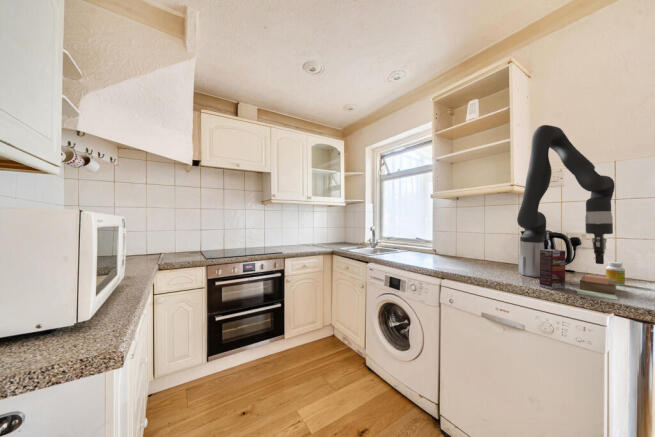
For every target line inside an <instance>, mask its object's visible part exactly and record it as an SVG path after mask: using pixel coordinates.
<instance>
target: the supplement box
mask: <svg viewBox="0 0 655 437" xmlns="http://www.w3.org/2000/svg"><path fill="white" fill-rule="evenodd" d="M566 251H567V250H564V249H557V248H556V249H553V248H551V249H544V250H540V277H539V280H538V281H539V284H538V286H539V287H541V288H544V287H545V288H546V289H548V290H549V289H550V290H555V289H565V288H566V253H567V252H566Z"/></svg>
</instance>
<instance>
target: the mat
mask: <svg viewBox="0 0 655 437" xmlns="http://www.w3.org/2000/svg"><path fill="white" fill-rule="evenodd" d="M576 290H577V291H576V294H577V295H583V296H589V297H597V298H601V299H602V298H603V299H607V300H615V301H618V300H619V299H618V296H617V295H616V294H615V295H611V294H605V293H598V292H592V291H585V290H580V288H579V289H576Z"/></svg>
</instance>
